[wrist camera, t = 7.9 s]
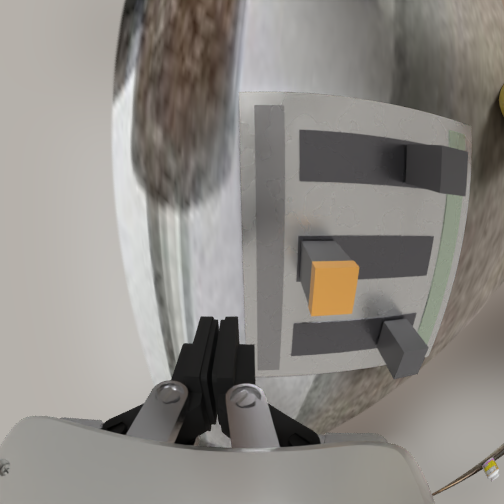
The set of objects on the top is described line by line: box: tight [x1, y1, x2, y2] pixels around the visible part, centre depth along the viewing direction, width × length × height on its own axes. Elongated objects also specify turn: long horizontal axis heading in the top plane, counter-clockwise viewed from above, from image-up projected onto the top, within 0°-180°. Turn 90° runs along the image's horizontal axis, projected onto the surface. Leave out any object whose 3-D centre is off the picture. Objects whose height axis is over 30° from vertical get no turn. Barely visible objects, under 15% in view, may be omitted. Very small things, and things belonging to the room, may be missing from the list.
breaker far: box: [377, 319, 429, 379], centre depth 20 cm, size 3×2×4 cm
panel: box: [239, 92, 472, 377], centre depth 21 cm, size 24×20×2 cm
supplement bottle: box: [482, 457, 499, 481], centre depth 51 cm, size 7×7×13 cm
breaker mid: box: [300, 241, 359, 316], centre depth 18 cm, size 3×3×5 cm
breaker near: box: [406, 144, 468, 196], centre depth 15 cm, size 3×2×4 cm
